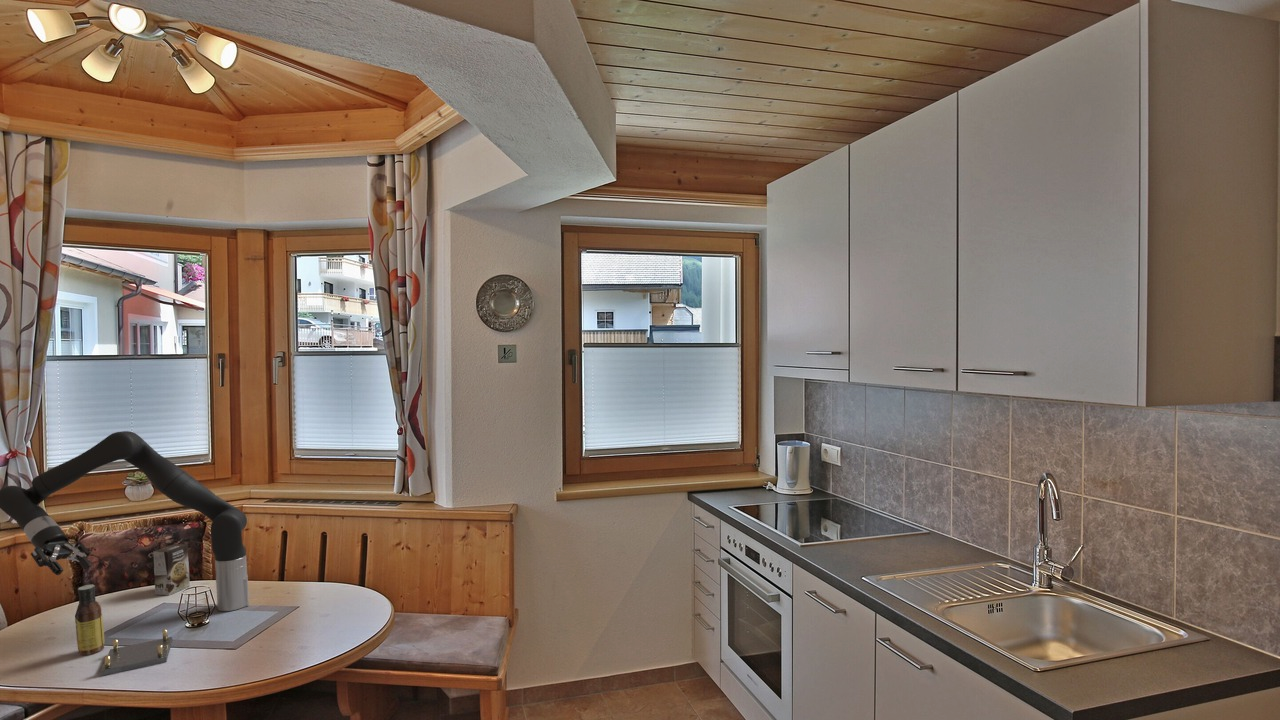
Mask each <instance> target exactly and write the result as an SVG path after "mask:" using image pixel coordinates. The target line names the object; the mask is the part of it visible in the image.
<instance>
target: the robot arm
mask: <svg viewBox="0 0 1280 720" xmlns="http://www.w3.org/2000/svg"><path fill="white" fill-rule="evenodd" d="M121 460H123V461H125V462H127V463H128V464H130V465H132V466H134V467H136V468H137V469H138V470H139V471H141V472H142V473H143V474H144V475H145V477H147V479H148V480H149V482H150V483H151V484H152V485H153V486H154V487H155V489H157V490H158V491H159V492H160V493H161V494H163V495H164V496H166V498H168V499H170V500H171V501H173V502H174V503H176V504H178V505H180V506H184V507H186V508H189V509H192V510H194V511H197V512H198V513H200V514H202V515H204V516H205V517H207V519H209V520H210V521H211V525H210V539H211V550H212V553H213V555H214V566H215V567H214V569H215V585H216V601H217V602H216V603H217V610H218V611H220V612H230V611H237V610H239V609H243V608H245V607H248V606H249V603H250V601H249V599H250V597H249V581H248V580H249V579H248V578H249V576H248V567H247V566H248V565H247V548H246V546H245V545H244V544H243V533H242V531H243V530H245V529H246V527H247V525H248V518H247V516H246V514H245V512H243V511H242V510H241V509H239V508H238V507H236V506H234V505H232V504H231V503H229V502H227V501H226V500H224V499H222V498H220V497H219V496H218V495H216V494H215V493H214V492H213V491H211V490H210V489H209V488H208V487H207V486H205V485H203V484H202V483H201V482H200V481H198V480H197V479H196V478H195V477H193V476H192V475H190V474H189V473H188V472H187V471H185V470H184V469H182V468H181V467H179V466H178V465H176V464H175V463H174V462H172V461H170V460H169V459H167V458H166V457H164V456H163V455H161V454H159V453H158V452H157V451H156V450H155V449H154V448H153V447H152V446H151V445H149V444H148V443H147V442H146V440H144V439H143V438H142V437H141V436H140V435H139V434H137V433H135V432H134V431H133V432H132V431H128V430H127V431H126V430H124V431H116V432H113V433H111V434H109V435H108V436H106V437H105V438H104V439H102V440H101V441H99V442H97V444H95V445H94V446H92V447H91V448H89V449H88V450H86V451H84V452H82V453H80V454H79V455H77V456H75V457H73V458H71V459H68V460H67V461H65V462H63V463H60V464H58V465H56V466H54V467H52V468H50V469H49V470H46V471H44V472H42V473H39V474H38V475H37V476H35V477H33V479H32V480H31V487H29V488H27V489H26V488H24V487H21V486H18V485H7V486H4V487H2V488H1V489H0V509H1V510H2V511H3V512H4V513H5V514H6V515H8V517H10V518H11V519H12V520H13V521H15V522H16V523H17V525H18V526H19V528H20V529H21V530H22V532H24V534H25V536H26V538H27V539H28V540H29V541H30V543H31V544H32V545H33V546H34V549H33V550H32V551H31V552H30V556H31V558H32V559H33V560H34V562H35V563H36V565H37V566H38V567H40V568H42V567H46V568H49V569H50V571H51V572H52V573H53V574H54V575H56V576H59V575H61V574H63V571H64V568H63V567H62V565H61V564H60V563H59V562H58V560H64V559H66V560H68V561H75V562H77V563H78V565H80V567H82V569H83V570H84V571H88V570H89V569H90V568H91V567H92V563H91V561H90V560H89V557H90V556H91V554H92V552H90V550H89V549H88V548H87V547H86V546H85V545H84V544H83V543H82V542H81V541H77V542H76V543H73V544H72V543H71V542H69V540H68V535H67V534H66V533H65V532H64V530H62V528H61V527H60V526H59V524H58V523H57V522H56V521H55V520H54V519H53V518H51V517H50V515H49V514H48V513H47V512H46V511H45V510H44V508H43V507H42V506H40V504H41V503H42V502H43V501H45V500H46V499H47V498H48V497H49V496H50V495H52V494H54V493H56V492H58V491H61V490H62V489H64V488H66V487H68V486H69V485H72V484H73V483H75V482H76V481H78V480H80V479H81V478H82V477H84V476H86V475H87V474H89V473H90V472H92V471H94V470H97V469H98V468H100V467H102V466H105V465H107V464H111V463H114V462H117V461H121ZM72 552H73V554H72ZM77 556H79V557H77Z"/></svg>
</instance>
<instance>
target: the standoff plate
mask: <svg viewBox="0 0 1280 720" xmlns="http://www.w3.org/2000/svg"><path fill="white" fill-rule="evenodd" d="M171 643H173V637H172V636H169V637H168V629H167V628H166V629H162V638H159V639H155V640H150V641H144V642H140V643H134V644H130V645H125V646H122V647H119V640H118V638H117V639H116V638H115V639H113V640H112V648H111V649H110V650H109V651H108V654H107V655H105V656H104V662H103V665H102V666H101V668H100V671H99V672H100V673H99V675H100V676H99V677H103V676H107V675H113V674H116V673H117V674H118V673H121V672H122V673H123V672H125V671H130V670H131V671H132V670H135V669H139V668H144V667H148V666H154V665H157V664H163V663H167V661H168V658H169V655H170V650H171V647H172V644H171Z"/></svg>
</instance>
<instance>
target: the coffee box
mask: <svg viewBox="0 0 1280 720" xmlns="http://www.w3.org/2000/svg"><path fill="white" fill-rule="evenodd" d="M152 553H153V570H154V571H153V573H154V591H155V592H154V594H155V595H158V596H171V595H173V594H175V593H177V592H180V591H182V590H184V589H187V588H189V587H191V584H190V566H189V565H190V564H189V563H190V562H189V546H188V544H185V543H180V544H179V543H178V544H177V543H173V544H171V545H168V546H165V547H163V548H159V549H156V550H153V552H152ZM188 586H189V587H188ZM186 587H187V588H186Z"/></svg>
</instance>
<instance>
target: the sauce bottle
mask: <svg viewBox="0 0 1280 720" xmlns="http://www.w3.org/2000/svg"><path fill="white" fill-rule="evenodd" d="M95 591H96V585H94V584H86V585H83V586H80V587H78V588H77V594H78V605H77V607H76V612H75V615H74V622H75V633H76V642H77V643H76V644H77V650H78V654H79V655H80V656H88V655H94V654H96V653H98V652H100V651H103V650H104V648H105V632H104V622H103V621H104V620H103V619H104V618H103V614H102V606H101V604H100V603H99V602H98V601H97V600H96V593H95ZM93 653H94V654H93Z"/></svg>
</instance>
